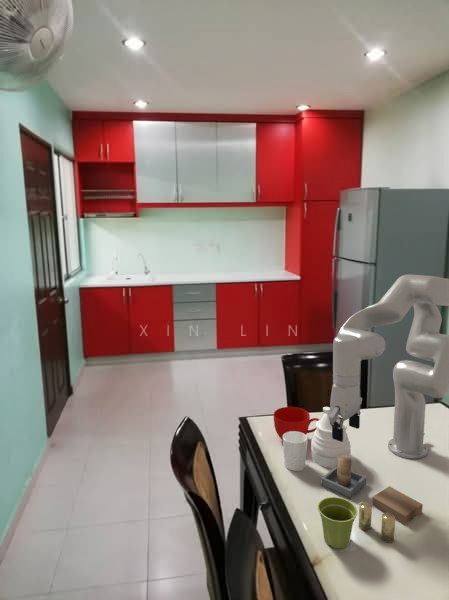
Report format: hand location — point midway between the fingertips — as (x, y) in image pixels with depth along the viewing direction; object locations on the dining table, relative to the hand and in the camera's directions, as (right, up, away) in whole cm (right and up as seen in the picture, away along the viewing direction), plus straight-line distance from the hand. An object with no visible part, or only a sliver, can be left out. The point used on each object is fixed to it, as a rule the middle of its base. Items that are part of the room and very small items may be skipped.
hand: (346, 433), depth 124 cm
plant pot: (-8, -21, -19) cm, 29 cm away
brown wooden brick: (+11, -18, -9) cm, 23 cm away
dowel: (0, -16, +2) cm, 16 cm away
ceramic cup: (-9, -12, +30) cm, 33 cm away
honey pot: (0, -14, +18) cm, 23 cm away
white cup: (-13, -15, +14) cm, 24 cm away
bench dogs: (+3, -20, -17) cm, 26 cm away
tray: (0, -16, +3) cm, 17 cm away
